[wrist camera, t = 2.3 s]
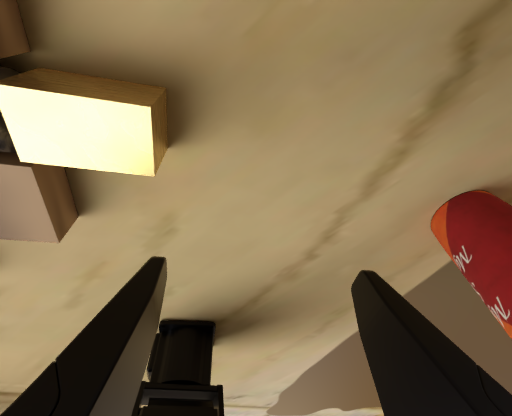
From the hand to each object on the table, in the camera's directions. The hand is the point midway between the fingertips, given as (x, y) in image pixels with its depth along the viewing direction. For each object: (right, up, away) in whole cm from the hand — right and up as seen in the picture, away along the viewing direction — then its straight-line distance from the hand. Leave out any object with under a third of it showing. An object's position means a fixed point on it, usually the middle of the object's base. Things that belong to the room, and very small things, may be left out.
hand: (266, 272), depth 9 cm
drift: (-10, +8, +8) cm, 15 cm away
